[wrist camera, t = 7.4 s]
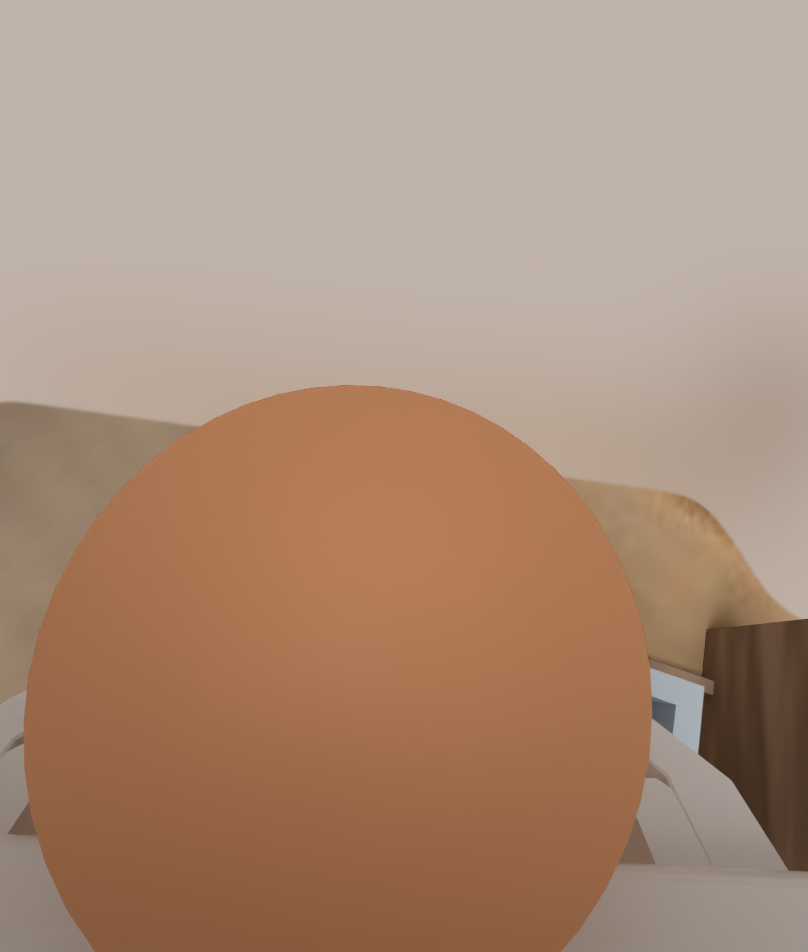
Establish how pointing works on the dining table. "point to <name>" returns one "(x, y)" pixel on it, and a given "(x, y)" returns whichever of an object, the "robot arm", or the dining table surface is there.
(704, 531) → the dining table surface
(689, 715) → the socket block
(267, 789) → the dowel
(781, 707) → the backstop wall
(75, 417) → the dining table surface
